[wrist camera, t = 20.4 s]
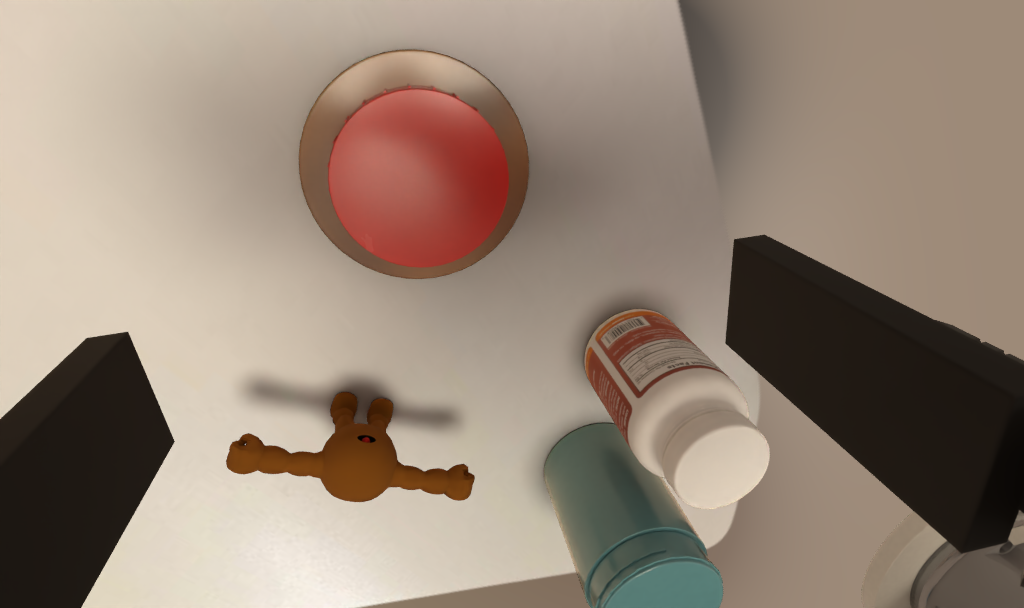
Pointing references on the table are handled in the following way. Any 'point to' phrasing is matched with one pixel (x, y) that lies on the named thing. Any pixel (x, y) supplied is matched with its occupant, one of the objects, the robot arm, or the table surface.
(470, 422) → the table surface
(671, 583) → the jar
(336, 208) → the cap
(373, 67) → the coaster
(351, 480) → the toy figurine
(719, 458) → the pill bottle
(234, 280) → the table surface
